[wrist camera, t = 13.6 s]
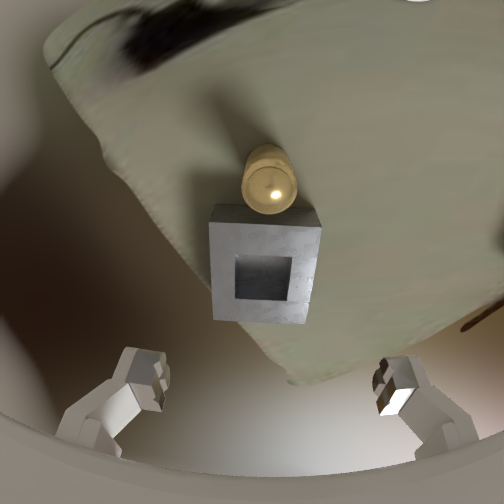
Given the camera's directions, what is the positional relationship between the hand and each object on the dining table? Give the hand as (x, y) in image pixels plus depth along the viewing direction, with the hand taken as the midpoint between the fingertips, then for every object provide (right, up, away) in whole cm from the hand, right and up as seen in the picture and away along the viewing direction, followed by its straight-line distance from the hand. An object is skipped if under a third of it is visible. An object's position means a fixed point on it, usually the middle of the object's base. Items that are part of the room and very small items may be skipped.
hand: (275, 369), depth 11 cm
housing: (0, +4, +29) cm, 30 cm away
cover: (+1, +14, +23) cm, 27 cm away
